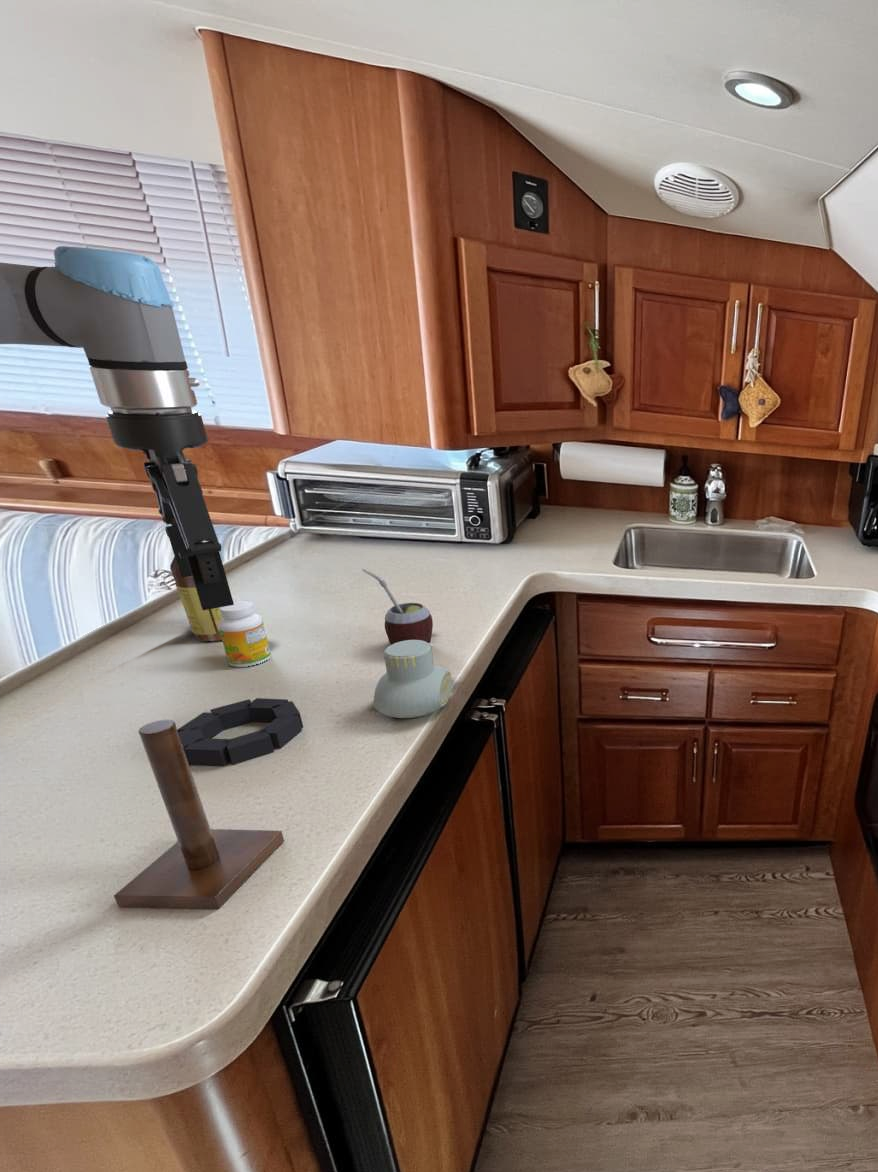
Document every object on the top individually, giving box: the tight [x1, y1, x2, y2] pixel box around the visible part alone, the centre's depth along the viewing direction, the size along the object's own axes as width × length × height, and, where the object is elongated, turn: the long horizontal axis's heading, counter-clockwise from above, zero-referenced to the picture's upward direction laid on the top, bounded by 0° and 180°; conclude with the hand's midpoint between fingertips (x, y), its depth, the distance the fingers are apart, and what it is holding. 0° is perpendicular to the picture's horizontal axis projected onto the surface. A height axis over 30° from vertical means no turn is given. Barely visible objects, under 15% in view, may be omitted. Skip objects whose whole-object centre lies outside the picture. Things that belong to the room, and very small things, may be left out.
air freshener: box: [373, 640, 452, 719], centre depth 93 cm, size 11×8×10 cm
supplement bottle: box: [218, 600, 272, 668], centre depth 101 cm, size 5×5×10 cm
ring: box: [177, 697, 304, 767], centre depth 84 cm, size 12×12×2 cm
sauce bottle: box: [164, 527, 223, 643], centre depth 106 cm, size 6×6×20 cm
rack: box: [113, 719, 285, 910], centre depth 61 cm, size 9×9×18 cm
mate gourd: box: [361, 568, 434, 645], centre depth 108 cm, size 8×8×15 cm
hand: (206, 590), depth 77 cm, fingers open, 13 cm apart
